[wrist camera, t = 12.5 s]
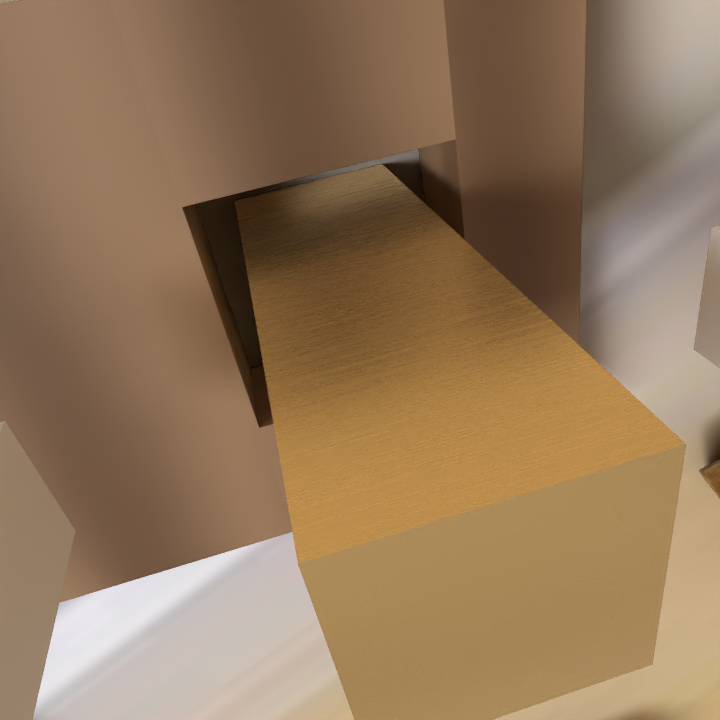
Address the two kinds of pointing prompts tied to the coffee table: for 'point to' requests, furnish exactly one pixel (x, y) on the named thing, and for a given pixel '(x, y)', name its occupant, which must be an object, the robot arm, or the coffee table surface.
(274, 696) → the coffee table surface
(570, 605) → the brass square bit
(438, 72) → the socket block
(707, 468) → the wooden carving
